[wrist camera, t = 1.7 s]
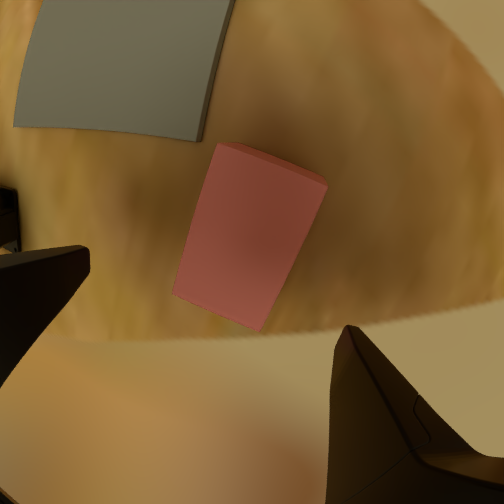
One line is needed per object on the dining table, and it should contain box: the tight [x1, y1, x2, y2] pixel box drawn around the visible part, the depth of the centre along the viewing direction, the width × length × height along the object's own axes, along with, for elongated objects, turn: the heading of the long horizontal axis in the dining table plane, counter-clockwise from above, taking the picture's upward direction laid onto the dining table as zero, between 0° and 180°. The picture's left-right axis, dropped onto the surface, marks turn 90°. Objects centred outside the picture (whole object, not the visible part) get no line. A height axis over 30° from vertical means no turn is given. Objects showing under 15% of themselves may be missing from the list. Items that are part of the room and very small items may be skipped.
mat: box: [13, 0, 235, 142], centre depth 13 cm, size 18×14×1 cm
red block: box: [172, 143, 328, 332], centre depth 15 cm, size 5×8×4 cm, turn 160°
